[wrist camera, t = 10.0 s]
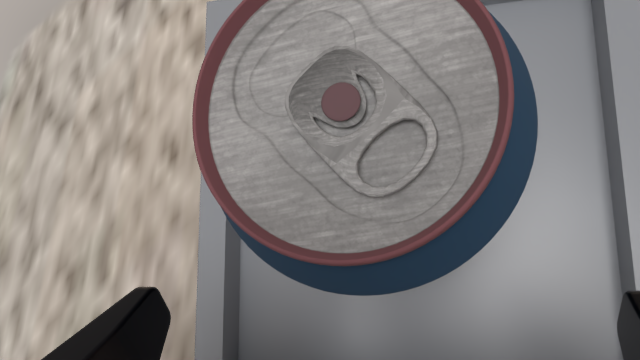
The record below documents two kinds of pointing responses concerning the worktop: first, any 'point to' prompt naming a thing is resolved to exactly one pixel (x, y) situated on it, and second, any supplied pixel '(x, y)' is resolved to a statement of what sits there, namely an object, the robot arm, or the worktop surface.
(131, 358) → the robot arm
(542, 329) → the tray
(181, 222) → the worktop surface
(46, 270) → the worktop surface
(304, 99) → the soda can
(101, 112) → the worktop surface
